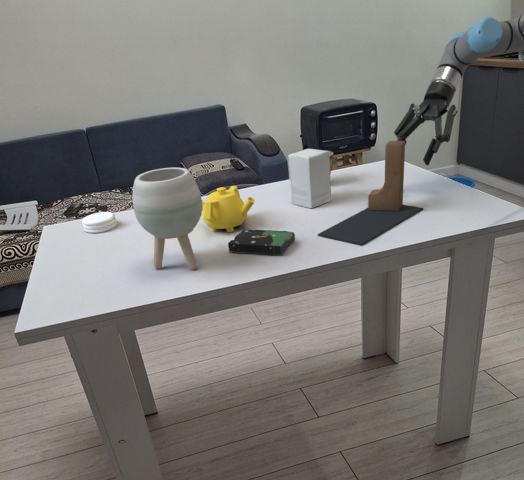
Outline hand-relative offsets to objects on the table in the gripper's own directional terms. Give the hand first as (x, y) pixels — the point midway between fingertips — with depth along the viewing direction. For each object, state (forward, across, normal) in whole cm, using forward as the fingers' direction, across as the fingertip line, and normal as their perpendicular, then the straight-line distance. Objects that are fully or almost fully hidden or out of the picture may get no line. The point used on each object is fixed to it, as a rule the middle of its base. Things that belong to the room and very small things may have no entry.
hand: (410, 160), depth 151 cm
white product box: (+18, +26, +1) cm, 31 cm away
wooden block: (+14, +2, -2) cm, 15 cm away
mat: (+22, 0, +5) cm, 22 cm away
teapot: (+37, +35, +20) cm, 55 cm away
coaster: (+51, +71, +34) cm, 94 cm away
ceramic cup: (+6, +37, -11) cm, 39 cm away
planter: (+55, +26, +38) cm, 72 cm away
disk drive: (+42, +15, +25) cm, 51 cm away
